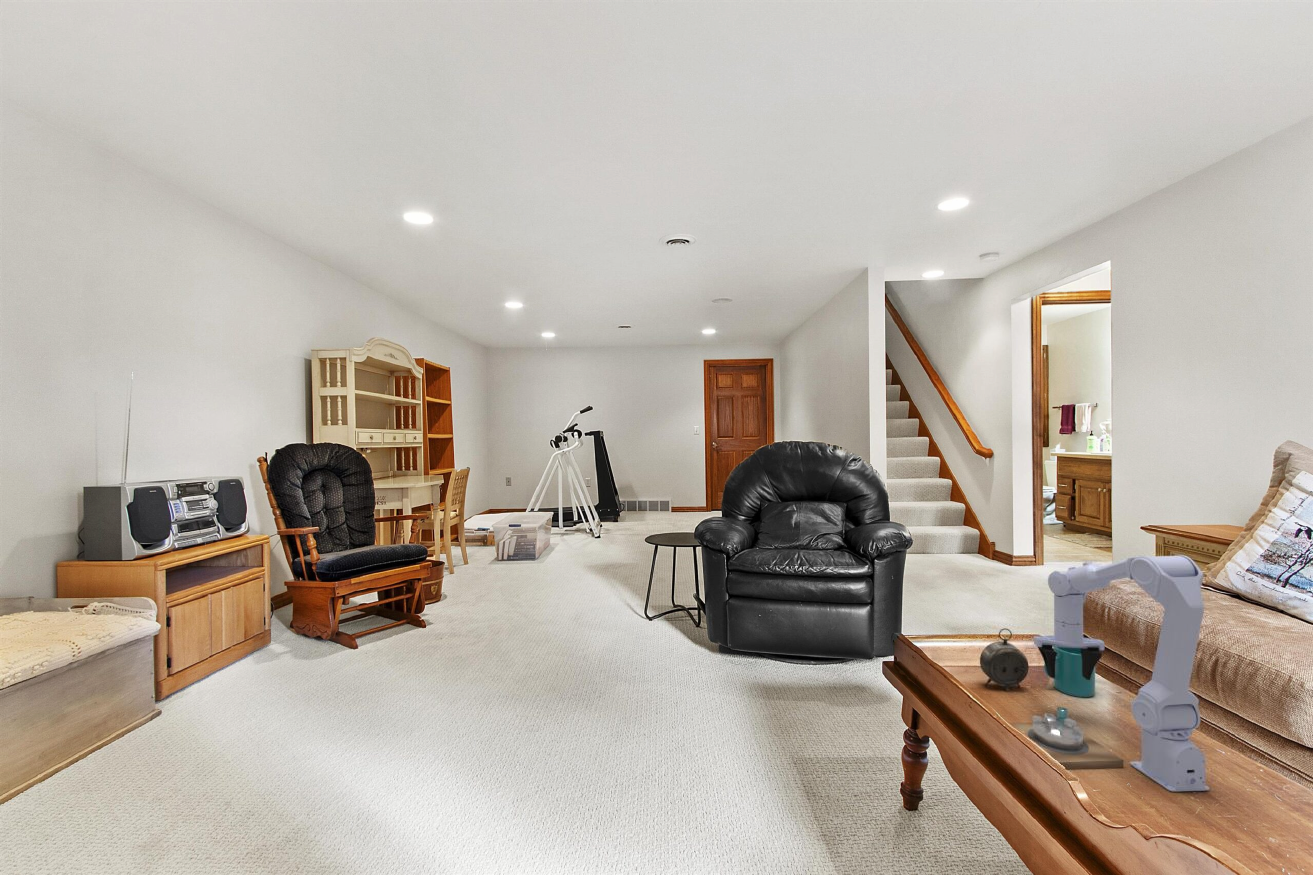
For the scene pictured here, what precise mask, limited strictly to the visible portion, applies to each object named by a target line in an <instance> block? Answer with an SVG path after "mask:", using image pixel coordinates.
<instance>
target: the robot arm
mask: <svg viewBox="0 0 1313 875" xmlns="http://www.w3.org/2000/svg"><path fill="white" fill-rule="evenodd" d="M1204 575H1205V574H1204V572H1203V571H1202V569H1201V568H1200V567H1199V566H1198V565H1197V563H1196V562H1195V561H1194V560H1193V559H1192V558H1190V557H1189V556H1186V555H1185V554H1184V555H1183V554H1174V555H1161V556H1157V555H1156V556H1145V555H1139V556H1135V557H1128V558H1125V559H1121V560H1117V561H1115V562H1112V563H1110V564H1106V565H1101V564H1099V563H1096V562H1094V563H1093V561H1086V562H1082V565H1081V566H1078V567H1075V566H1071V567H1068V569H1067V570H1065V571H1064V570H1063V571H1062V570H1061V571H1060V570H1054V571H1053V572H1051V573H1050V574H1049V575H1048V577H1047V585H1048V588H1049V590H1050V591H1051V592H1052V594H1053V596H1054V597H1053V605H1054V606H1053V607H1054V608H1053V610H1054V611H1053V620H1054V621H1053V622H1054V623H1053V628H1054V630H1053V634H1052V635H1042V636H1040V635H1039V636H1038V635H1036V636H1035V635H1033V645H1034V646H1036V647H1037V649H1038V651H1039V653H1040V654H1041V656H1042V659H1043V662H1044V663H1045V665H1046V669H1047V673H1048V675H1049V676H1050V677H1051V679H1052V678H1055V661H1056V656H1057V652H1055V651H1054V647H1069V648H1080V651H1081V657H1082V676H1083V677H1084V678H1085V679H1087V680H1090V678H1091V675H1092V672H1093V669H1094V667H1095V668H1096V665H1097V663H1098V662H1099V661H1100V659H1101V658H1102V656H1103V653H1102V652H1103V651H1105V641H1103V640H1101V639H1098V638H1097V639H1095V638H1088V637H1084V603H1085V602H1086V601H1087V600H1086V599H1087V597H1086V596H1087V595H1088V593H1090V592H1095V591H1099V590H1104V589H1107V588H1108V587H1109V586H1110V585H1111V581H1116V580H1122V579H1127V578H1128V580H1130V581H1131V580H1133V581H1134V582H1135V584H1136V585H1138V587H1140V588H1141V589H1142V590H1143V591H1144V592H1145V593H1146V594H1148V596H1150V598H1152V599H1153V600H1154V601H1155V602H1156V603H1159V605H1161V606H1162V608H1164V611H1163V615H1162V616H1163V617H1162V621H1161V625H1160V626H1161V627H1160V631H1159V637H1158V638H1159V639H1158V642H1157V648H1156V653H1155V657H1154V664H1153V670H1152V675H1151V680H1150V681H1148V682H1147V683H1145V684H1144V685H1143V686H1141V687H1140V688H1139V689H1138V693H1137V696H1136V698H1134V699H1133V700H1132V702H1131V704H1130V708H1131V709H1130V710H1131V711H1130V712H1131V714H1132V717H1133V719H1134V721H1135V722H1136V723H1137V725H1138V727H1139V728H1141V760H1140V761H1130V762H1129V765H1130V766H1132V767H1133V768H1135V769H1136V770H1138V771H1140V772H1141V773H1142V774H1144V775H1145V776H1147V777H1148V778H1149V779H1151V780H1153V781H1154V782H1156V783H1157V784H1159V785H1160V786H1162V787H1163V788H1164V789H1166V790H1168V791H1169V792H1198V791H1200V792H1201V791H1203V792H1204V791H1210V787H1209V786H1208V785H1206V756H1205V755H1204V752H1203V751H1202V750H1201V749H1200V748H1198V747H1197V746H1196V745H1195V744H1194V742H1192V740H1191V738H1190V736H1193V730H1195V729H1197V728H1198V727H1199V726H1200V724H1201V714H1200V712H1199V711H1200V710H1199V702H1200V699H1199V698H1198V697H1197V696H1196V695H1194V693H1193V692H1191V690H1189V687H1190V682H1191V677H1192V674H1193V673H1192V672H1193V666H1194V663H1195V656H1196V653H1197V652H1196V651H1197V648H1198V641H1199V637H1200V633H1201V626H1202V623H1203V618H1204V611H1205V605H1204V599H1203V595H1202V585H1203V580H1204V579H1203V578H1204ZM1101 651H1102V652H1101ZM1048 675H1047V676H1048ZM1049 676H1048V677H1049ZM1050 677H1049V678H1050Z"/></svg>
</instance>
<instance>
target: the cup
mask: <svg viewBox="0 0 1313 875" xmlns="http://www.w3.org/2000/svg"><path fill="white" fill-rule="evenodd" d="M1053 648H1054V651H1055V652H1057V656H1056V661H1055V678H1051V677H1050V676H1049V675H1048V673H1047V669H1046V665H1045V662H1044V664H1043V670H1044V673H1045V674H1046V676H1048V677H1049V678H1051V679H1052V680H1053V687H1054V688H1055V689H1056V691H1057V690H1058V691H1059V692H1061V693H1062V694H1066V695H1069V696H1074V697H1079V698H1089V697H1093V696H1094V695H1095V694H1096V666H1095V667H1094V669H1093V672H1092V675H1091V678H1090V680H1087V679H1085V678H1084V677H1083V676H1082V657H1081V651H1080V648H1069V647H1053Z"/></svg>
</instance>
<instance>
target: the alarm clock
mask: <svg viewBox="0 0 1313 875" xmlns="http://www.w3.org/2000/svg"><path fill="white" fill-rule="evenodd" d="M1003 631H1008V632H1009V634H1010V636H1009V638H1005V637H1004V638H1003V637H1001V633H1002V632H1003ZM1012 636H1013V633H1012V631H1011V630H1010V629H1009V628H1005V627H1004V628H1002V629H1000V630H999V632H998V638H999V639H1000V640H1001V641H1000V640H999V641H994V642H992V643H990V644H988V645H986V646H985V648H984V649H983V650H982V651H981V653H980V656H979V666H980V668H981V671H982V672H983V673H984V675H986V676H987V677H988V680H987V681H986V682H985V683H984V686H985V687H987V686H988V685H989V684H990V683H991V682H993V683H995V684H996V685H999V686H1001V687H1005V689H1006V690H1005V691H1007V693H1008V692H1010V687H1014V686H1017V688H1018V689H1019V688H1021V685H1020V683H1022V682H1023V681H1024V680H1026V678H1027V676H1028V673H1029V670H1030V666H1029V660H1028V659H1027V657H1026V655H1025V653H1024V652H1022V651H1021V650H1020V649H1018V648H1017V647H1016V646H1015V645H1014V644H1012V643H1010V642H1008V641H1009V640H1011V638H1012Z"/></svg>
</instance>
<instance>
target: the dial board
mask: <svg viewBox="0 0 1313 875" xmlns="http://www.w3.org/2000/svg"><path fill="white" fill-rule="evenodd" d="M1009 723H1010V724H1011V725H1013V726H1014V727H1015V728H1017V729H1018V730H1020V731H1021V732H1023V733H1025V734H1026V735H1027V736H1028V737H1029V738H1030V739H1032V740H1033V741H1034V742H1036V743H1037V744H1038V745H1039V746H1040V747H1042V748H1043V749H1045V750H1046V751H1047V752H1048V753H1049V754H1050V755H1051V756H1052V757H1053V758H1054V759H1055V760H1057V761H1058V762H1059V763H1060V764H1061V765H1063V766H1064V767H1065V768H1067V769H1066V770H1081V769H1082V770H1086V769H1089V770H1090V769H1118V768H1119V769H1120V768H1124V759H1122V758H1121V757H1120V756H1118V755H1116V754H1115V753H1113V752H1112V751H1110V750H1109V749H1107V748H1106V747H1104V746H1103V745H1102V744H1101V743H1098V742H1097V741H1096V740H1094V739H1093V738H1091V737H1090V736H1088V735H1087V734H1085V733H1084V732H1083V746H1082V748H1080V749H1076V750H1068V749H1061V748H1057V747H1053V746H1050V745H1047V744H1045V743H1043V742H1041V741H1040V740H1038V739H1037V738H1036V737H1035V736H1034V734H1033V722H1009Z"/></svg>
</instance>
